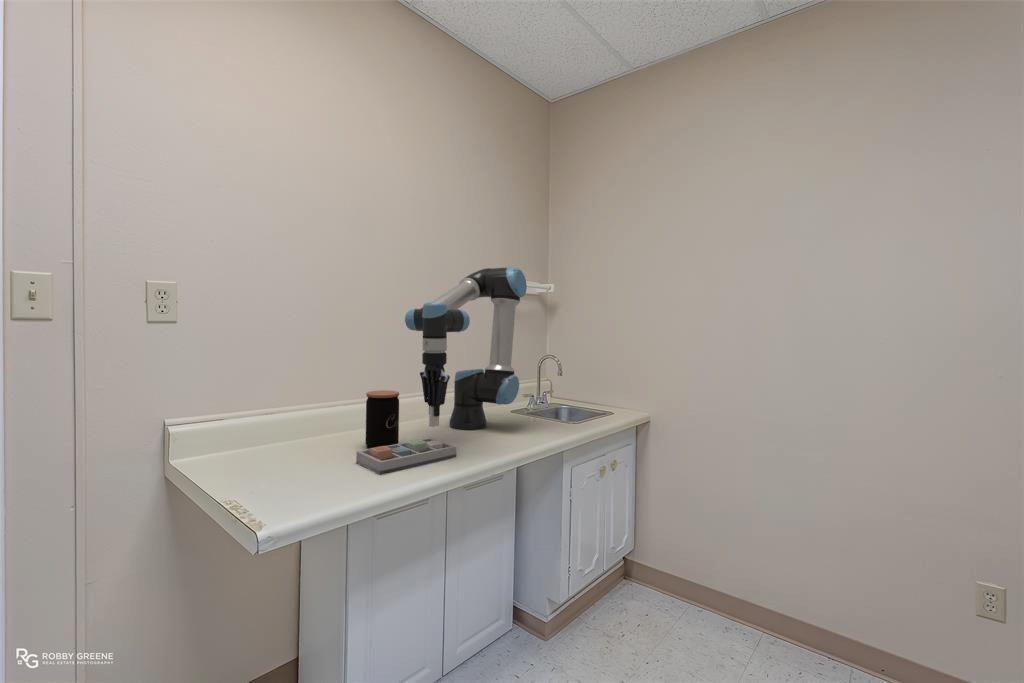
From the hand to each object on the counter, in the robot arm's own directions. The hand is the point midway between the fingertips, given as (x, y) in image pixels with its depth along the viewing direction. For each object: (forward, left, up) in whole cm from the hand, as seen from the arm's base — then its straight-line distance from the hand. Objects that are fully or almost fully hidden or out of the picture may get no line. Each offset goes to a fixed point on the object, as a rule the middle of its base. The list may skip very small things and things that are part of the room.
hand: (434, 425), depth 145 cm
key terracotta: (+19, 0, -7) cm, 20 cm away
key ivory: (+1, 0, -8) cm, 8 cm away
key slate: (+13, 0, -8) cm, 15 cm away
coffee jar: (+8, -19, -9) cm, 22 cm away
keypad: (+10, 0, -9) cm, 13 cm away
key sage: (+7, 0, -7) cm, 9 cm away
